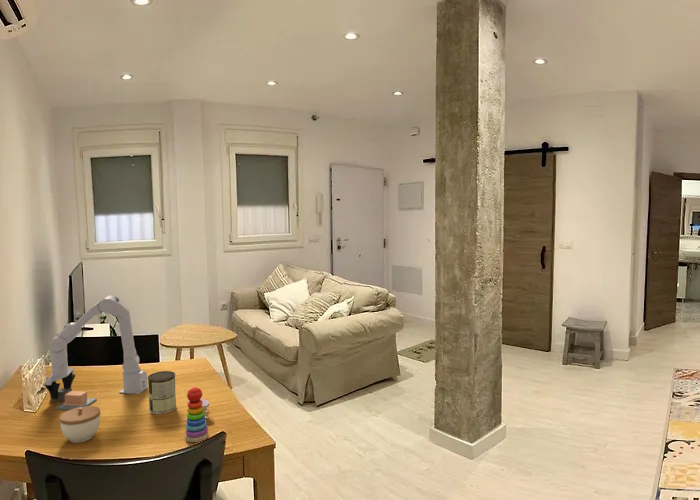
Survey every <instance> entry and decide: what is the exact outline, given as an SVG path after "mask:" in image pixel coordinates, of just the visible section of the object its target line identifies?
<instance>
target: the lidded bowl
mask: <svg viewBox="0 0 700 500" xmlns="http://www.w3.org/2000/svg"><path fill="white" fill-rule="evenodd" d="M59 423H60V424H59V425H60V429H61V433H62V436H63V437H65V439H67V440H68V441H70V443H73V444H78V443H84V442H86V441H89V440H91V439H92V438H93V437H94V435H95V434H96V432H97V431H98V429H99V427H100V423H101V409H100V407H98V406H95V405H92V406H91V405H89V406H83V407H78V408H74V409H71V410H65V411H64V412H63V413H62V414H60V416H59Z"/></svg>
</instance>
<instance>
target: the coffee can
mask: <svg viewBox="0 0 700 500" xmlns="http://www.w3.org/2000/svg"><path fill="white" fill-rule="evenodd" d="M147 385H148V401H149V403H148V404H149V410H148V411H149V413H150V414H153V415H163V414H162V413H164V414H168V413H170V411H171V412H173V411H174V410H176V408H177V401H176V396H177V395H176V373H175V372H174V371H171V370H162V371H156V372H154V373H151V374H149V375H147ZM175 407H176V408H175ZM172 410H173V411H172ZM167 412H168V413H167Z"/></svg>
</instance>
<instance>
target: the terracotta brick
mask: <svg viewBox="0 0 700 500" xmlns="http://www.w3.org/2000/svg"><path fill="white" fill-rule="evenodd" d="M87 398H88V391H79V390H78V391H76V390H72V391H71V392H69V393H67V394H65V401H64V402H65V404H69V405H82V404H83V403H85V402H87Z"/></svg>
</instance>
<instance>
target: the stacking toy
mask: <svg viewBox="0 0 700 500" xmlns="http://www.w3.org/2000/svg"><path fill="white" fill-rule="evenodd" d="M202 397H203V391H202V389H201V388H199V387H196V386H195V387H194V386H193V387H191V388H190V389H188V391H187V394H186V398H187V407H188V408H187V410H186V411H187V412H186V420H185V422H186V424H185V435H184V440H185V441H186V442H188V441H189V442H188V443H191V442H196V443H201V442H203V441H205V440H206V439H207V438H208V437H209V431H208V430H209V428H208V425H207V421H206V419H207V418H205V416H204V411H203V410H204V407H203V406H202V404H203V402H202V400H200V399H202ZM188 400H189V402H188ZM202 440H203V441H202ZM200 441H201V442H200Z"/></svg>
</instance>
